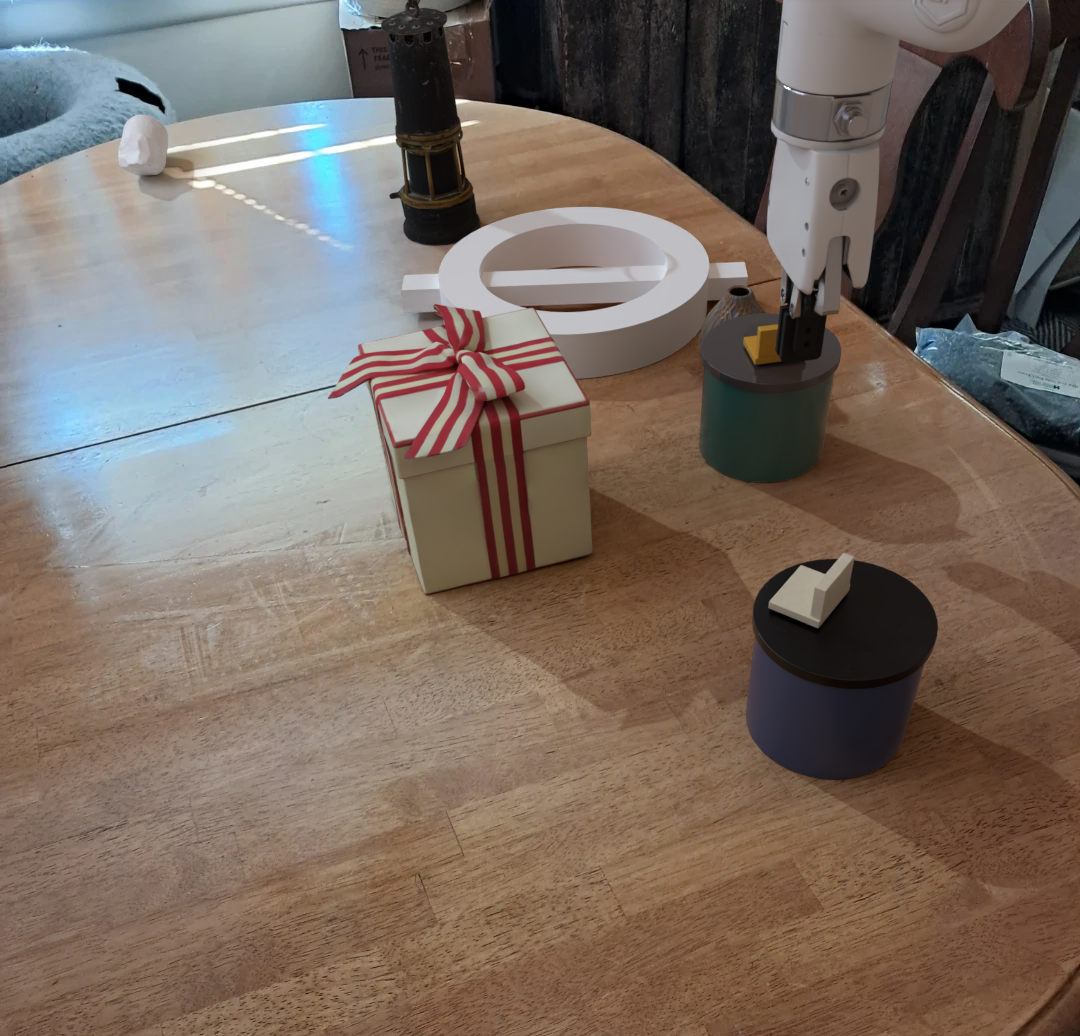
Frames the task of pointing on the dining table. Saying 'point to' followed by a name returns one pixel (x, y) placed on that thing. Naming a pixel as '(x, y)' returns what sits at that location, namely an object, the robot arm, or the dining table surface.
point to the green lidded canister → (763, 405)
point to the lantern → (428, 130)
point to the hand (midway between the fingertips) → (797, 355)
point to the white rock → (143, 146)
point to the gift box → (480, 445)
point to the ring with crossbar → (585, 282)
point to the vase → (730, 309)
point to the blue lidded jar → (839, 674)
